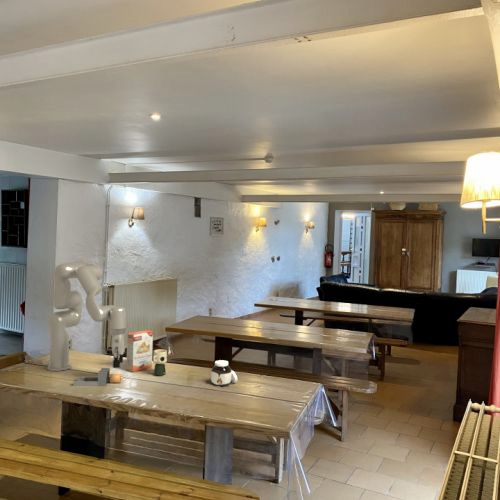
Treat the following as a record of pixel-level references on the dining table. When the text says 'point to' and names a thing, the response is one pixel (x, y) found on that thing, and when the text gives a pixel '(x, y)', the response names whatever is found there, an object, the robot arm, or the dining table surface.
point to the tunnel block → (101, 381)
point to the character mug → (160, 361)
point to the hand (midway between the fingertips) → (118, 365)
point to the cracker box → (139, 350)
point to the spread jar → (222, 374)
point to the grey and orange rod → (112, 379)
